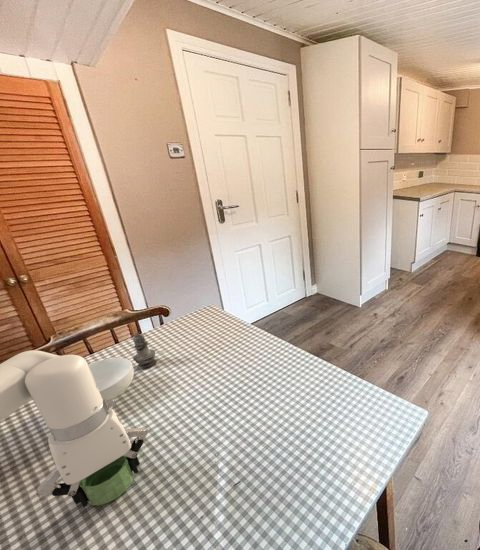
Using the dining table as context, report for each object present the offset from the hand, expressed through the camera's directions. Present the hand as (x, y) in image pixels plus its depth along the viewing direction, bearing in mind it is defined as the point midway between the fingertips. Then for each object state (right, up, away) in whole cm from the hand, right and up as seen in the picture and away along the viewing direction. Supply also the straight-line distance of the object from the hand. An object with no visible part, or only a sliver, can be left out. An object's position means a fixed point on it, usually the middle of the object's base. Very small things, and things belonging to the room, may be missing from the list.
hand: (110, 484), depth 61 cm
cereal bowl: (-22, +8, +23) cm, 33 cm away
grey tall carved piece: (-19, +13, +36) cm, 43 cm away
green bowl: (0, -1, 0) cm, 1 cm away
